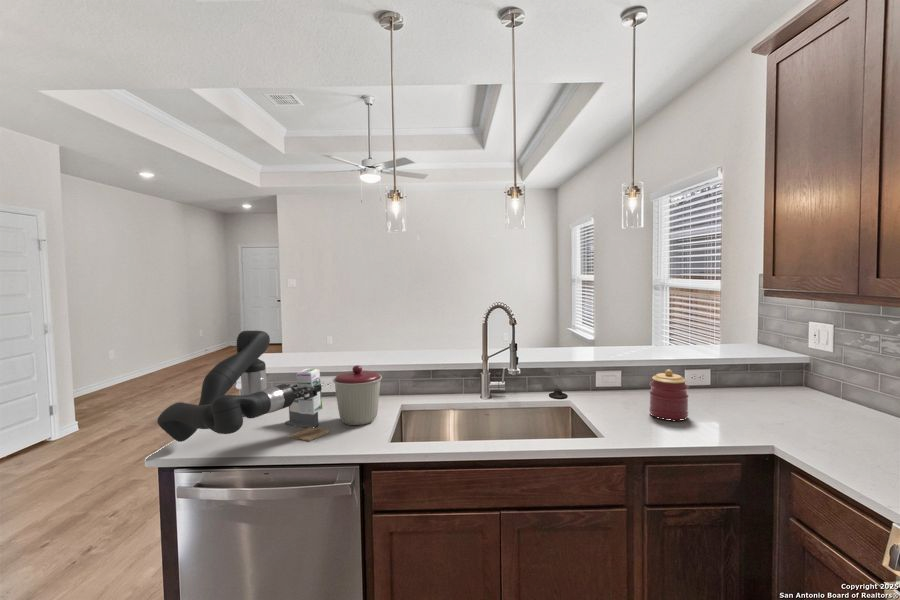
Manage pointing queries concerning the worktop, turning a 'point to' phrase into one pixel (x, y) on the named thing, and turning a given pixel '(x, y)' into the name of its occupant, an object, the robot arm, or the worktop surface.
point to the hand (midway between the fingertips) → (312, 386)
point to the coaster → (309, 433)
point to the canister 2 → (669, 396)
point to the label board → (301, 417)
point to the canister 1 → (357, 395)
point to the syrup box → (309, 380)
